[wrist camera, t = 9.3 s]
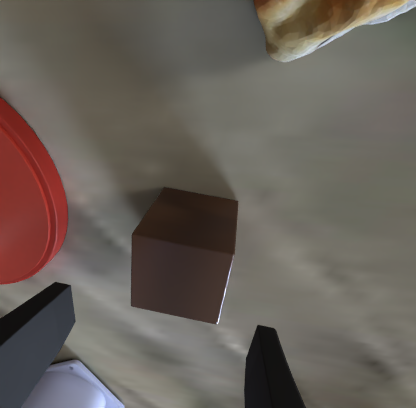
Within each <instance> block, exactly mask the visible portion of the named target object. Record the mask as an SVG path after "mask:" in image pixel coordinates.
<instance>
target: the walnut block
mask: <svg viewBox="0 0 416 408" xmlns="http://www.w3.org/2000/svg"><path fill="white" fill-rule="evenodd" d="M237 216H238V201H235V200H230V199H225V198H220V197H214V196H209V195H204V194H198V193H193V192H188V191H183V190H177V189H172V188H167V187H164V188H163V190H162V191H161V192H160V194H159V195H158V197H157V198H156V200H155V201H154V203H153V204H152V206H151V207H150V209H149V210H148V211H147V213H146V214H145V216H144V217H143V219H142V220H141V222H140V223H139V225H138V226H137V228H136V229H135V230H134V232H133V233H132V265H131V306H132V307H137V308H141V309H146V310H151V311H156V312H160V313H165V314H170V315H174V316H179V317H184V318H188V319H193V320H198V321H202V322H207V323H212V324H218V322H219V318H220V314H221V310H222V306H223V301H224V297H225V293H226V289H227V285H228V281H229V277H230V272H231V268H232V264H233V260H234V256H235V244H236V230H237Z"/></svg>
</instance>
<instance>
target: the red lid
mask: <svg viewBox="0 0 416 408" xmlns="http://www.w3.org/2000/svg"><path fill="white" fill-rule="evenodd" d="M67 223H68V208H67V201H66V196H65V191H64V188H63V185H62V182H61V179H60V176H59V174H58V172H57V169H56V167H55V165H54V163H53V161H52V159H51V157H50V156H49V154H48V152H47V150H46V149H45V147H44V146H43V144H42V143H41V141H40V140H39V138H38V137H37V136H36V134H35V133H34V131H33V130H32V129H31V128H30V127H29V126H28V124H27V123H26V122H25V121H24V120H23V119H22V117H21V116H20V115H19V114H18V113H17V112H16V111H15V110H14V109H13V108H12V107H11V106H10V105H8V104H7V103H6V102H5V101H4V100H3V99H2V98H1V97H0V284H10V283H15V282H19V281H22V280H25V279H27V278H29V277H31V276H33V275H35V274H36V273H37V272H39V271H40V270H41V269H42V268H43V267H44V266H45V265H46V264H47V263H48V262H49V261H50V260H51V259H52V258H53V257H54V256H55V255H56V253H57V252H58V251H59V249H60V247H61V245H62V243H63V241H64V238H65V235H66V231H67Z"/></svg>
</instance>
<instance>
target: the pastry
mask: <svg viewBox="0 0 416 408" xmlns="http://www.w3.org/2000/svg"><path fill="white" fill-rule="evenodd" d="M254 5H255V8H256V11H257V15H258V18H259V20H260V22H261V25H262V28H263V31H264V34H265V38H266V50H267V53H268V54H269V55H270V56H271V57H272V58H273V59H274V60H278V61H281V62H288V61H292V60H294V59H296V58H299V57H302V56H304V55H307V54H309V53H312V52H313V51H314V50H316V49H317V48H320V47H322V46H324V45H326V44H327V43H329V42H331V41H332V40H334V39H335V38H338V37H340V36H342V35H343V34H345V33H346V32H348V31H350V30H351V29H353V28H354V27H356V26H359V25H362V24H377V23H382V22H385V21H388V20H390V19H392V18H394V17H395V16H397V15H399V14H401V13H405V12H407V11H409V10H410V9H412V8H413V7H415V6H416V0H254Z"/></svg>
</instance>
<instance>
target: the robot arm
mask: <svg viewBox="0 0 416 408" xmlns="http://www.w3.org/2000/svg"><path fill="white" fill-rule="evenodd" d="M74 323H75V314H74V307H73V299H72V292H71V285H67V284H63V283H58V282H55V283H53V284H52V285H50V286H49V287H47V288H46V289H44V290H43V291H41V292H40V293H38V294H37V295H35V296H34V297H32V298H31V299H29V300H28V301H26V302H25V303H23V304H22V305H20V306H19V307H17V308H16V309H14V310H13V311H11V312H10V313H8V314H7V315H5V316H4V317H2V318H1V319H0V408H124V405H123V404H122V403H121V402H120V401H119V400H118V399H117V398H116V397H115V396H114V395H113V394H112V393H111V392H110V391H109V390H108V389H107V388H106V387H105V386H104V385H103V384H102V383H101V382H100V381H99V380H98V379H97V378H96V377H95V376H94V375H93V374H92V373H91V372H90V371H89V370H88V369H87V368H86V367H85V366H84V365H83V364H82V363H81V362H80V361H79V360H70V361H66V362H62V363H57V364H53V365H50V364H51V363H52V361H53V360H54V358H55V357H56V355H57V354H58V352H59V351H60V349H61V348H62V346H63V344H64V342H65V340H66V338H67V337H68V335H69V333H70V331H71V329H72V327H73V325H74ZM244 395H245V408H306V407H305V405H304V402H303V400H302V398H301V395H300V393H299V391H298V388H297V386H296V383H295V381H294V379H293V376H292V374H291V371H290V369H289V366H288V363H287V361H286V358H285V355H284V353H283V350H282V347H281V344H280V341H279V338H278V335H277V332H276V330H275V329H274V328H271V327H266V326H261V325H257V328H256V331H255V334H254V337H253V340H252V343H251V346H250V349H249V352H248V355H247V357H246V368H245V386H244Z"/></svg>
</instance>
